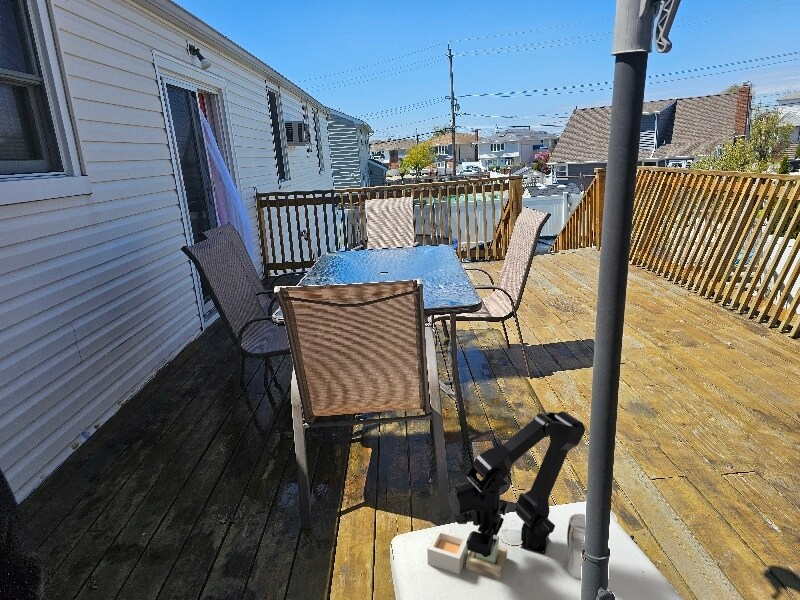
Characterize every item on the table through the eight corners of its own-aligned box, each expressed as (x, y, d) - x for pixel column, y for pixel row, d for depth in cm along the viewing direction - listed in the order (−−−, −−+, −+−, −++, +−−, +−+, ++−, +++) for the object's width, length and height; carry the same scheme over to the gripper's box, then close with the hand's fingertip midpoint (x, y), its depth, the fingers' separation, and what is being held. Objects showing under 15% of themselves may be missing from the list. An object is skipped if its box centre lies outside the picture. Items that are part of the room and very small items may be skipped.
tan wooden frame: (506, 557, 136) (507, 548, 135) (499, 579, 129) (500, 570, 129) (474, 547, 140) (475, 538, 139) (466, 568, 133) (466, 559, 132)
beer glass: (594, 582, 128) (599, 534, 123) (565, 578, 129) (569, 530, 125) (590, 561, 134) (595, 514, 130) (563, 558, 136) (566, 511, 131)
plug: (497, 560, 135) (498, 531, 133) (494, 571, 132) (495, 541, 129) (479, 554, 137) (480, 526, 135) (475, 565, 134) (476, 536, 131)
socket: (468, 552, 138) (468, 537, 137) (459, 574, 131) (459, 558, 130) (437, 543, 142) (437, 528, 140) (427, 563, 135) (427, 548, 134)
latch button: (461, 549, 137) (461, 546, 137) (455, 562, 133) (455, 559, 132) (441, 543, 139) (441, 540, 139) (435, 555, 135) (434, 552, 135)
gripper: (468, 472, 140) (468, 519, 145) (446, 516, 124) (446, 567, 129) (508, 482, 136) (507, 530, 140) (490, 528, 120) (489, 581, 124)
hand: (487, 550), depth 134 cm, fingers closed on plug, 4 cm apart
